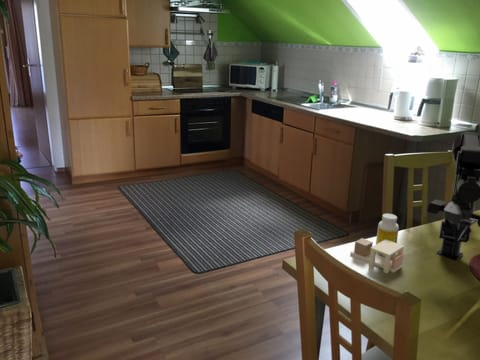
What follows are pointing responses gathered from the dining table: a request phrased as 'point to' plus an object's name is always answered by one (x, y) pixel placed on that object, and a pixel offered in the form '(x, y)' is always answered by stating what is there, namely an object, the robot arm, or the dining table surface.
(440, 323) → the dining table surface
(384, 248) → the small table
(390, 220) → the supplement bottle
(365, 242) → the sled
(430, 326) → the dining table surface
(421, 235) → the dining table surface
